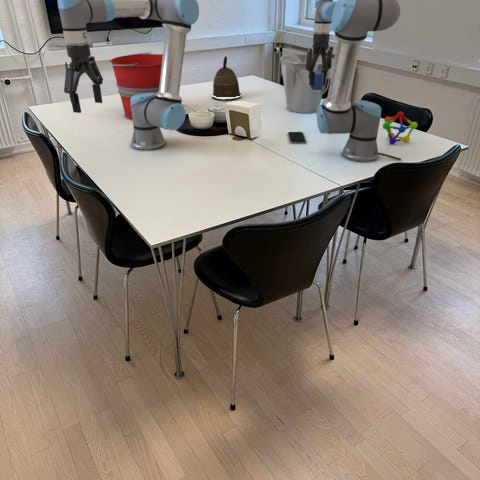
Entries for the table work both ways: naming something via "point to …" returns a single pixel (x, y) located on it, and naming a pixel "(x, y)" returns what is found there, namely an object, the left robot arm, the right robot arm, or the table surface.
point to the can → (318, 81)
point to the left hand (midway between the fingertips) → (88, 107)
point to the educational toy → (398, 128)
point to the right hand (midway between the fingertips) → (316, 84)
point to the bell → (225, 82)
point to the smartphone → (296, 137)
